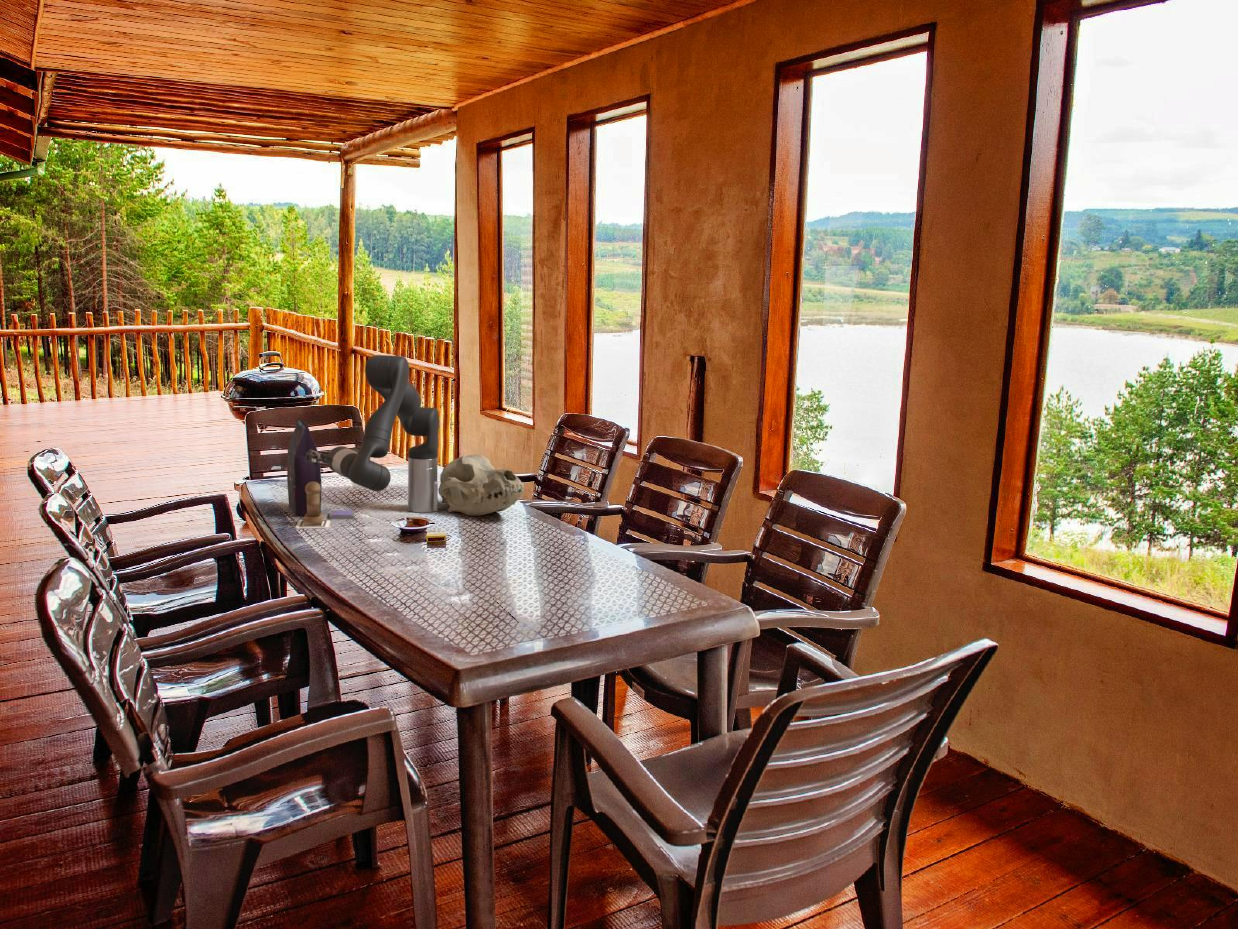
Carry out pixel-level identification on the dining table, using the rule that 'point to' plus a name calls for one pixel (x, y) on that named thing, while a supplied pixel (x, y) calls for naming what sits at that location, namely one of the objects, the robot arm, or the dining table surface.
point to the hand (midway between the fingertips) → (324, 451)
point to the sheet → (324, 525)
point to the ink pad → (341, 514)
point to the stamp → (313, 505)
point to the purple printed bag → (301, 469)
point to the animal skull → (478, 486)
